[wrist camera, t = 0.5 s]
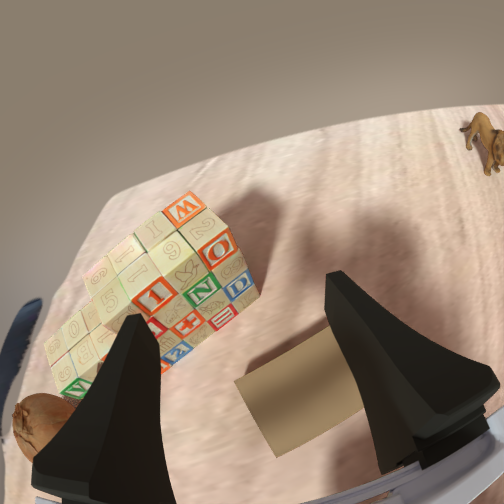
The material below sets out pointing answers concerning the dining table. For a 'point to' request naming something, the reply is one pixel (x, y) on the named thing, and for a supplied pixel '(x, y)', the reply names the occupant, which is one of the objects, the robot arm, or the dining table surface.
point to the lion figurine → (487, 141)
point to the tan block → (301, 393)
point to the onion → (39, 421)
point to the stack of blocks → (156, 292)
